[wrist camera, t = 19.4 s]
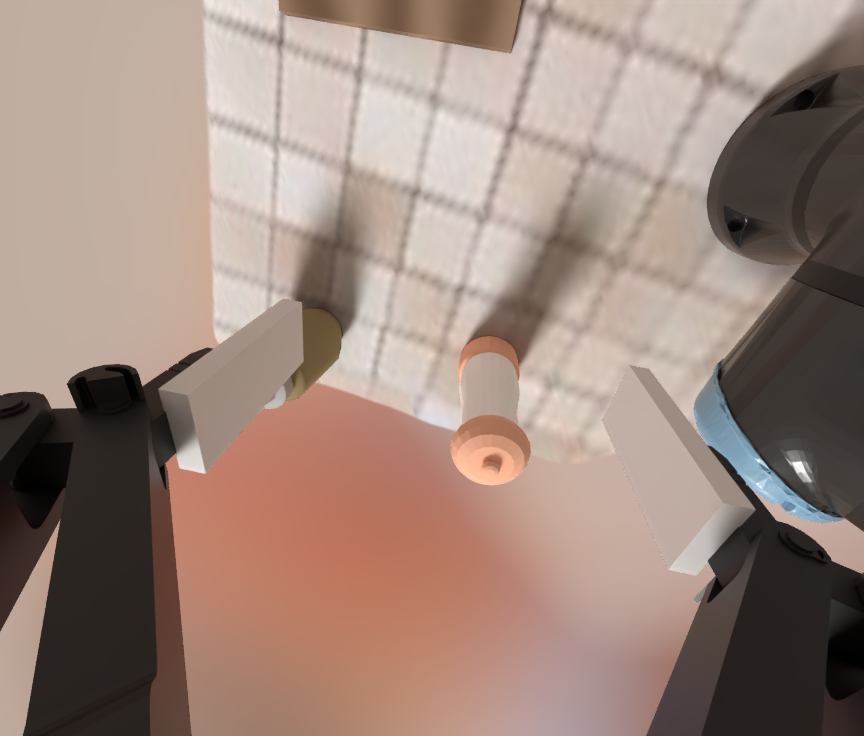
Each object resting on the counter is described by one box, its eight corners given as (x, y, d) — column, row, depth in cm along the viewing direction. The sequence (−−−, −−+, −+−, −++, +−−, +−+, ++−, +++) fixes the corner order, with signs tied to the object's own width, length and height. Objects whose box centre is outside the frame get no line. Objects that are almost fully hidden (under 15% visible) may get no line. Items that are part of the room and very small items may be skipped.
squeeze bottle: (302, 286, 45) (207, 355, 30) (360, 321, 47) (299, 404, 31) (281, 336, 49) (187, 420, 34) (335, 367, 51) (270, 461, 35)
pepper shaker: (527, 346, 46) (551, 455, 29) (504, 392, 49) (514, 512, 33) (470, 328, 45) (462, 427, 29) (452, 376, 49) (436, 488, 33)
